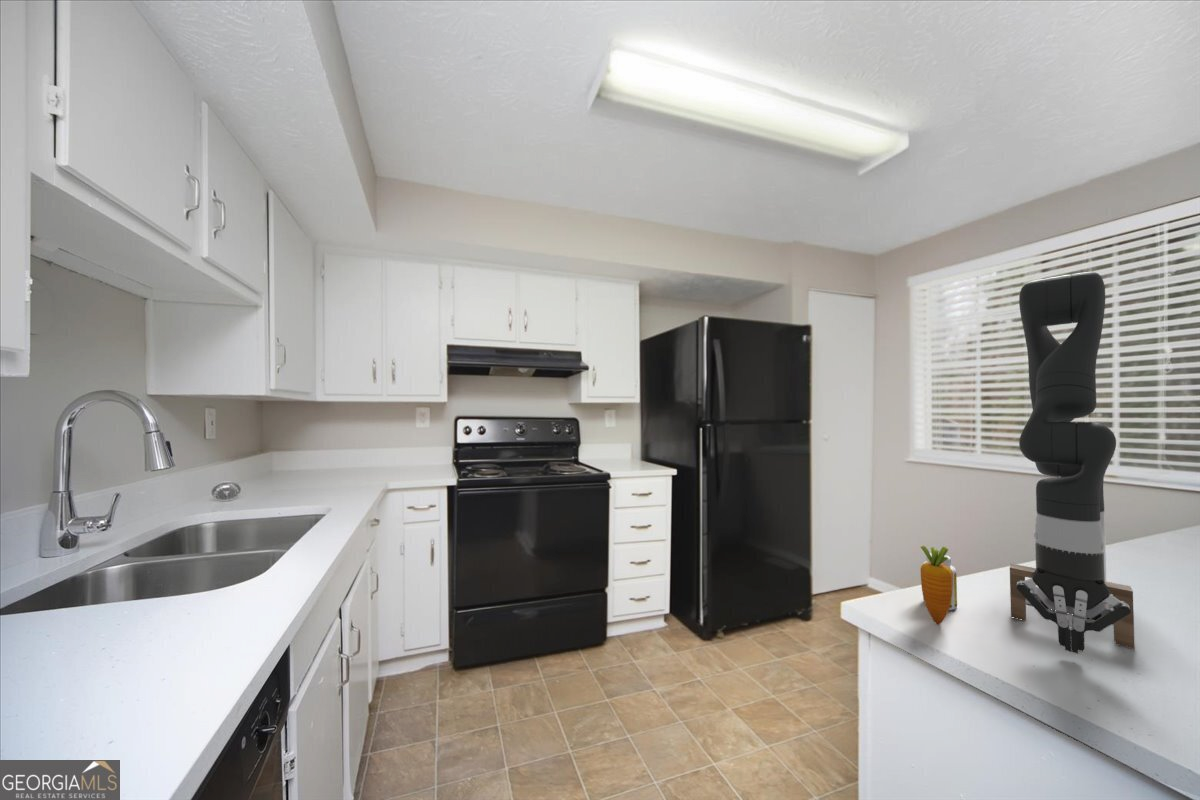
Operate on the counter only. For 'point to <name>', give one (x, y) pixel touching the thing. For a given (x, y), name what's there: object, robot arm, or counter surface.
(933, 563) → the carrot
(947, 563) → the supplement bottle
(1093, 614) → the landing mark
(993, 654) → the counter surface
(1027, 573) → the bridge
